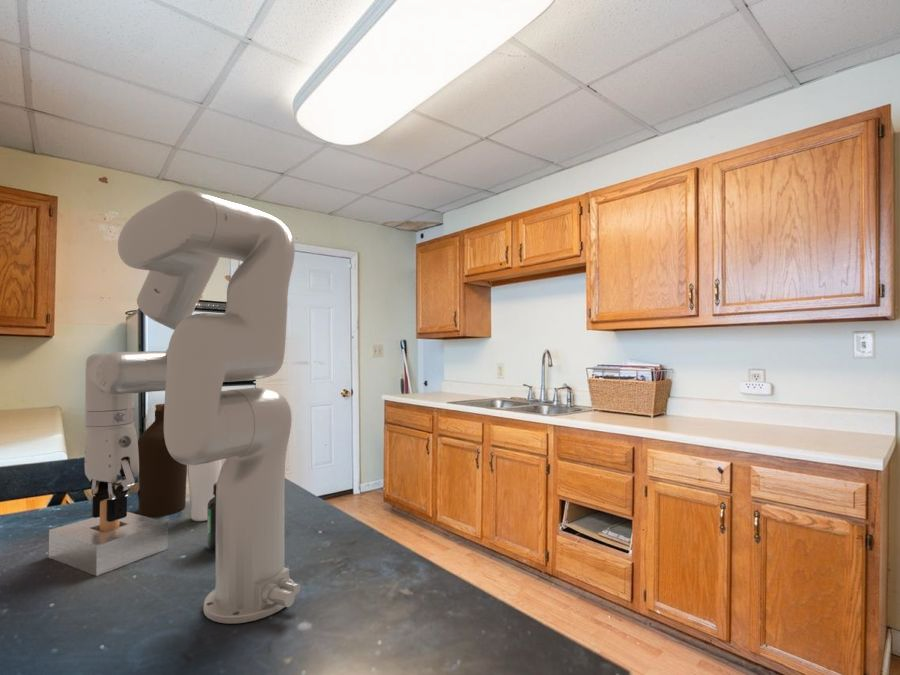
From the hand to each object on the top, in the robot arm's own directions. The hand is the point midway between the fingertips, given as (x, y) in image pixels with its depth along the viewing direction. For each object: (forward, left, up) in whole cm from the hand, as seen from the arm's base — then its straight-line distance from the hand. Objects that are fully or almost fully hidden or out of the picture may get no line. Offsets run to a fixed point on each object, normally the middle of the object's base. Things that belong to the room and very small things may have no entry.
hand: (109, 516), depth 88 cm
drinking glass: (+1, -20, -7) cm, 21 cm away
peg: (0, 0, -7) cm, 7 cm away
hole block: (0, 0, -7) cm, 7 cm away
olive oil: (+15, -19, -7) cm, 25 cm away
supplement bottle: (-17, -12, -7) cm, 22 cm away
